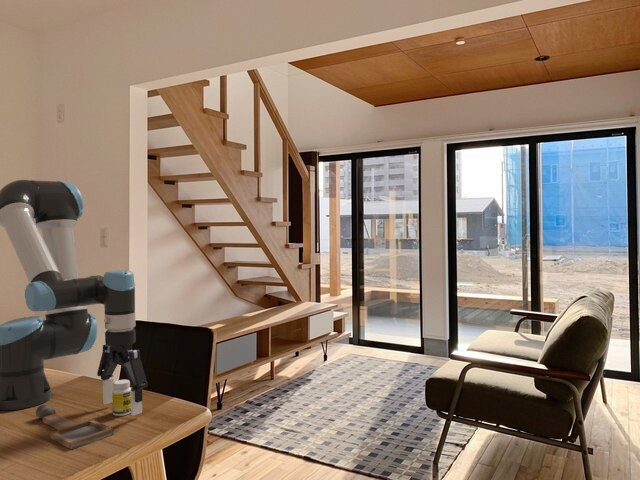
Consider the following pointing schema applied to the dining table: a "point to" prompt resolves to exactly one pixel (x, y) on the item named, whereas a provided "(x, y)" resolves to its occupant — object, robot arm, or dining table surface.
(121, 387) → the supplement bottle
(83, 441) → the wooden tray with handle
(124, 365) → the robot arm
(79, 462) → the dining table surface
